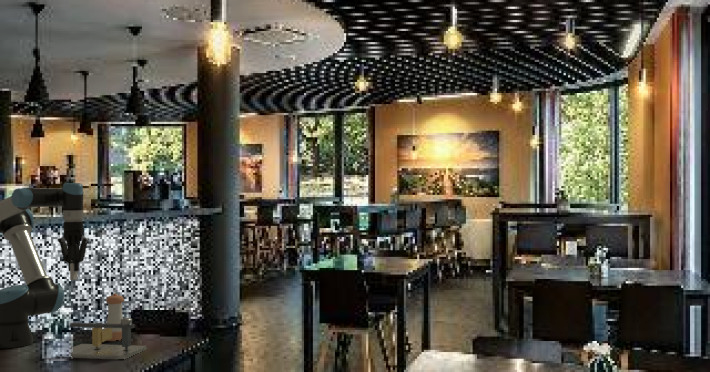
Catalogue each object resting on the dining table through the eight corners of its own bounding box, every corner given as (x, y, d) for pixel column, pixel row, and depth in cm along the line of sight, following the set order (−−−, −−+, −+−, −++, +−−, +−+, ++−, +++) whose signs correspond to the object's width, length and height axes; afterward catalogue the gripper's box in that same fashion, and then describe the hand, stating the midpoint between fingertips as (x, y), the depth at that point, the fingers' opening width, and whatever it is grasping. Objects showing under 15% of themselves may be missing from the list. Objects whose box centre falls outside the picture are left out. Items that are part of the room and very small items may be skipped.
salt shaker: (120, 336, 286) (120, 291, 287) (127, 339, 281) (126, 293, 281) (103, 339, 282) (103, 293, 282) (109, 342, 276) (109, 295, 276)
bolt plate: (56, 357, 251) (56, 352, 251) (81, 347, 266) (81, 343, 266) (124, 359, 245) (124, 355, 245) (146, 349, 261) (146, 345, 261)
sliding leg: (91, 348, 255) (91, 328, 256) (105, 343, 264) (105, 323, 265) (98, 348, 255) (98, 328, 255) (112, 343, 264) (111, 323, 264)
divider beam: (68, 348, 256) (68, 318, 257) (74, 345, 260) (74, 316, 261) (131, 350, 251) (130, 320, 252) (136, 348, 255) (136, 318, 255)
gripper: (53, 221, 270) (53, 280, 269) (82, 221, 267) (82, 280, 267) (64, 220, 277) (65, 278, 277) (93, 220, 275) (93, 278, 274)
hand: (73, 279), depth 272 cm, fingers closed
